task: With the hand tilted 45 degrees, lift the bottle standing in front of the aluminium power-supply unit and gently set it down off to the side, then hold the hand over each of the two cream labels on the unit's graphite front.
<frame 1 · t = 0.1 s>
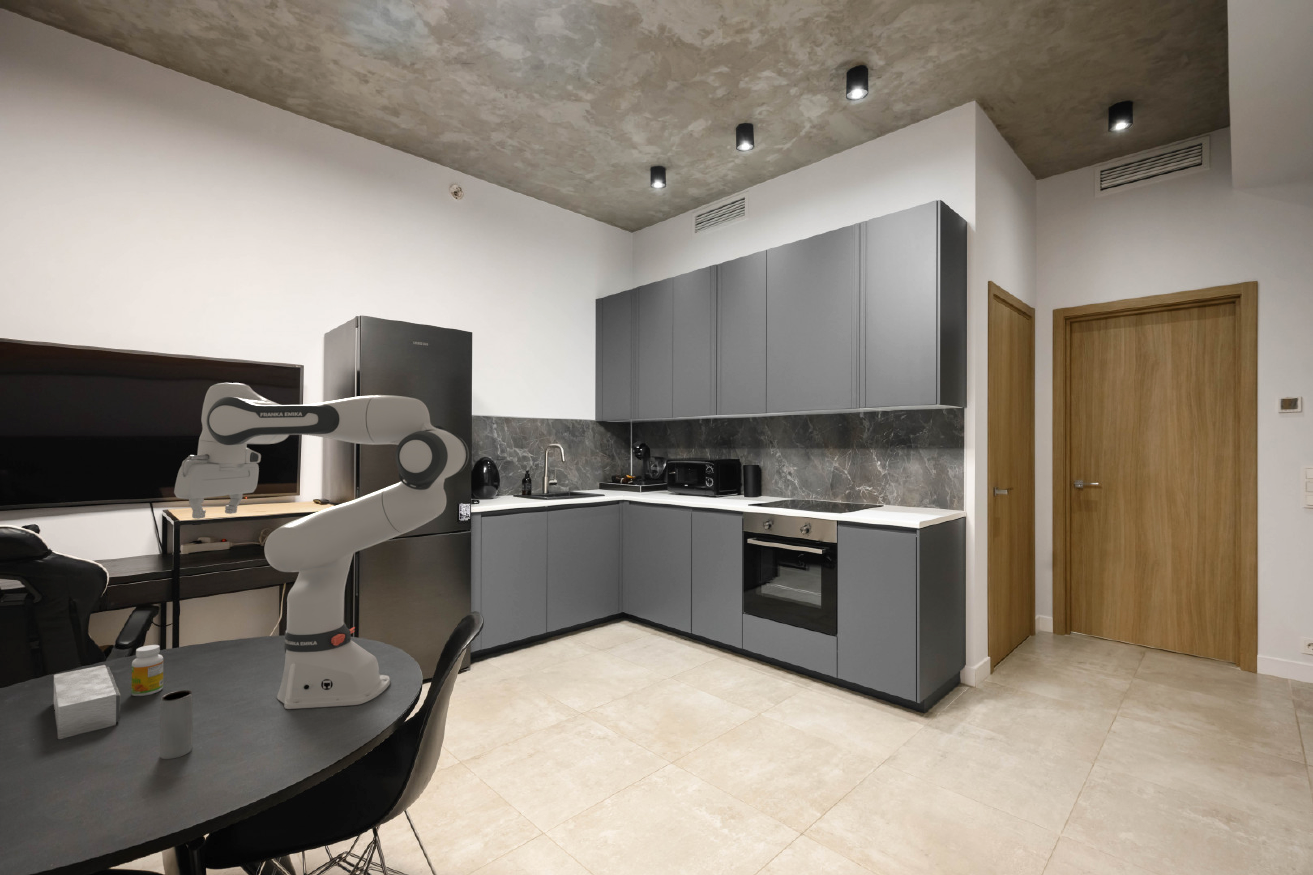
hand: (215, 515, 135), 39 cm above the table, tool pointing down, fingers open, 8 cm apart
coffee box: (323, 653, 159), on the table
planter: (176, 753, 108), on the table
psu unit: (83, 713, 123), on the table
supplement bottle: (147, 692, 134), on the table
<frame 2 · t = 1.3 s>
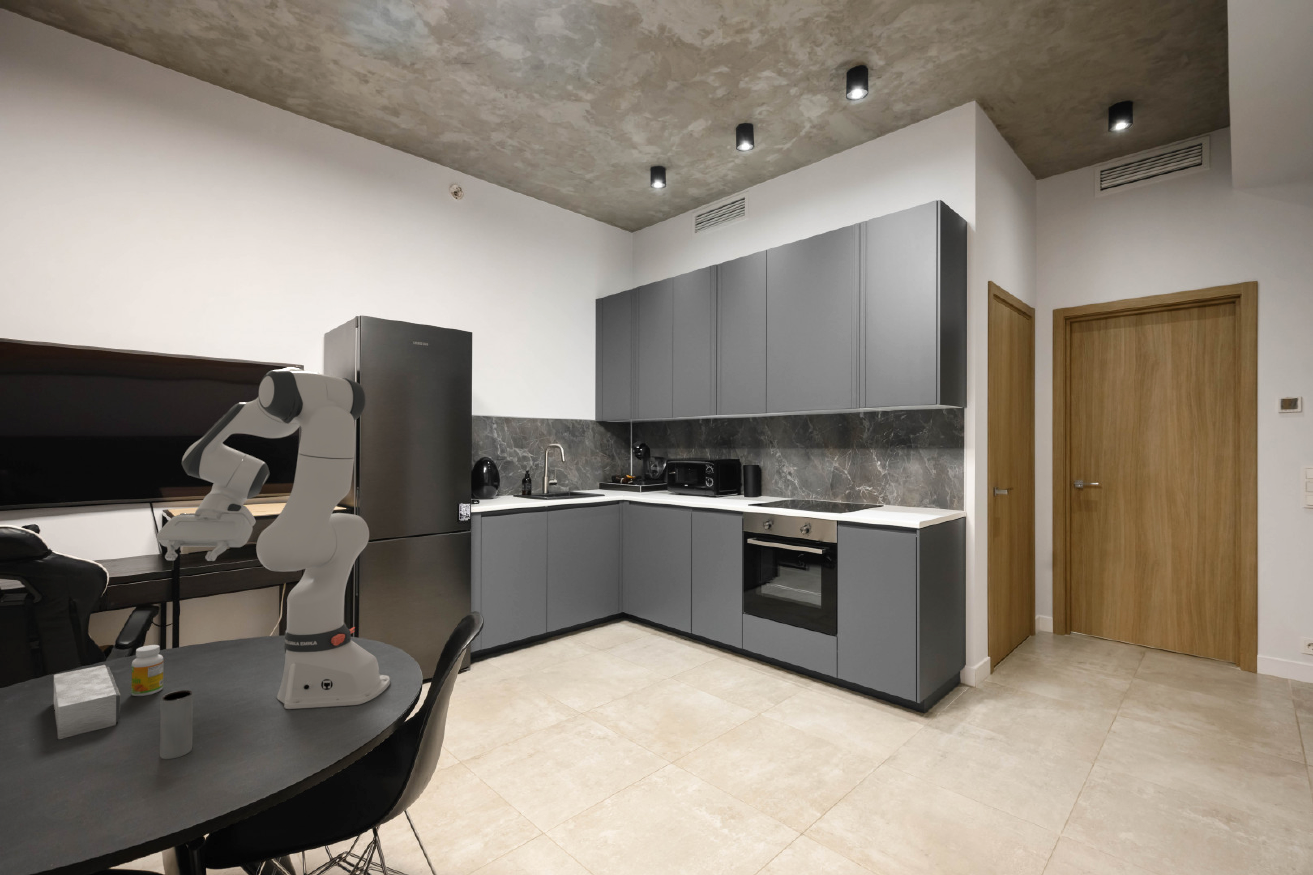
hand: (189, 559, 146), 27 cm above the table, tool tilted 45°, fingers open, 8 cm apart
nothing on the table moved.
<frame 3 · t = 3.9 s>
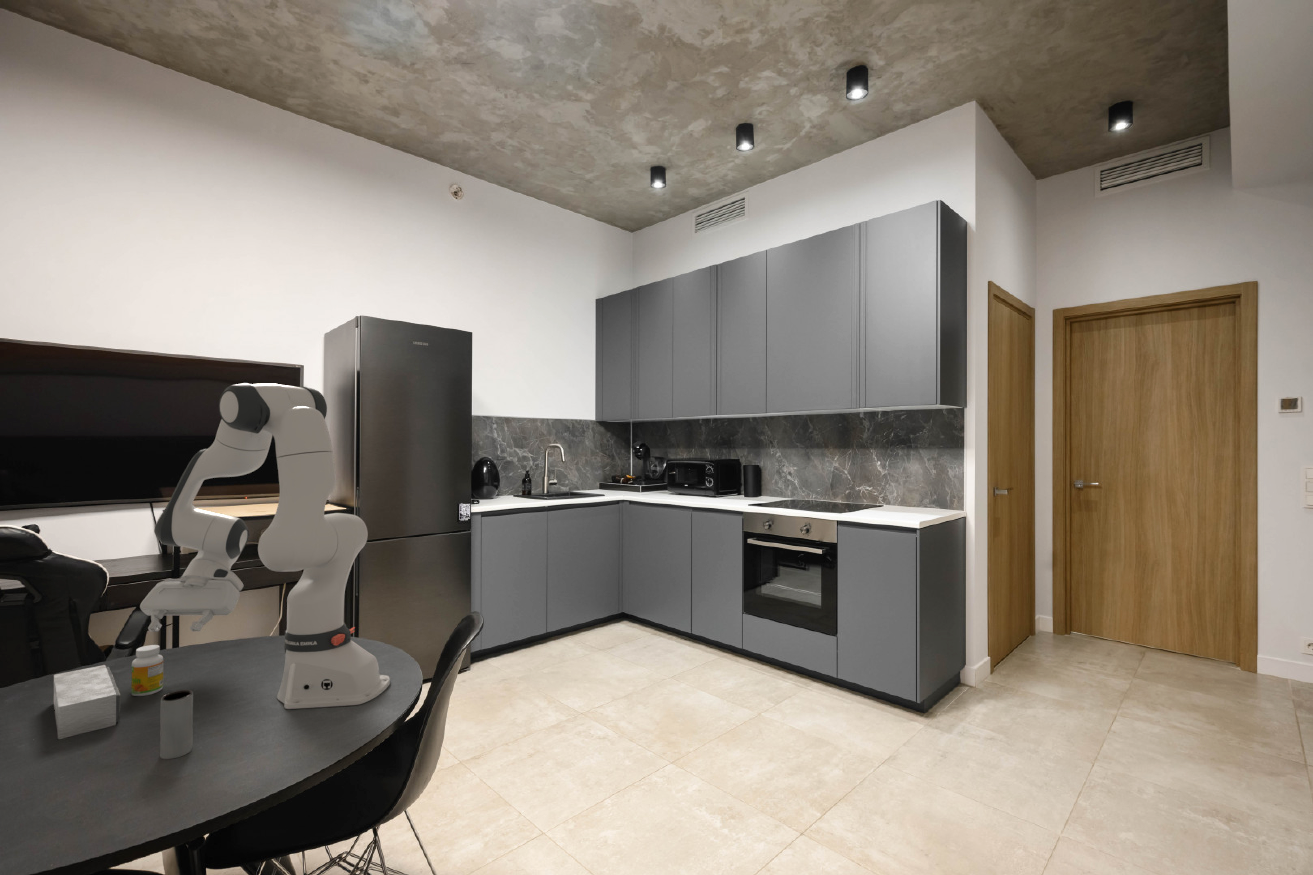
hand: (173, 630, 141), 11 cm above the table, tool tilted 45°, fingers open, 8 cm apart
nothing on the table moved.
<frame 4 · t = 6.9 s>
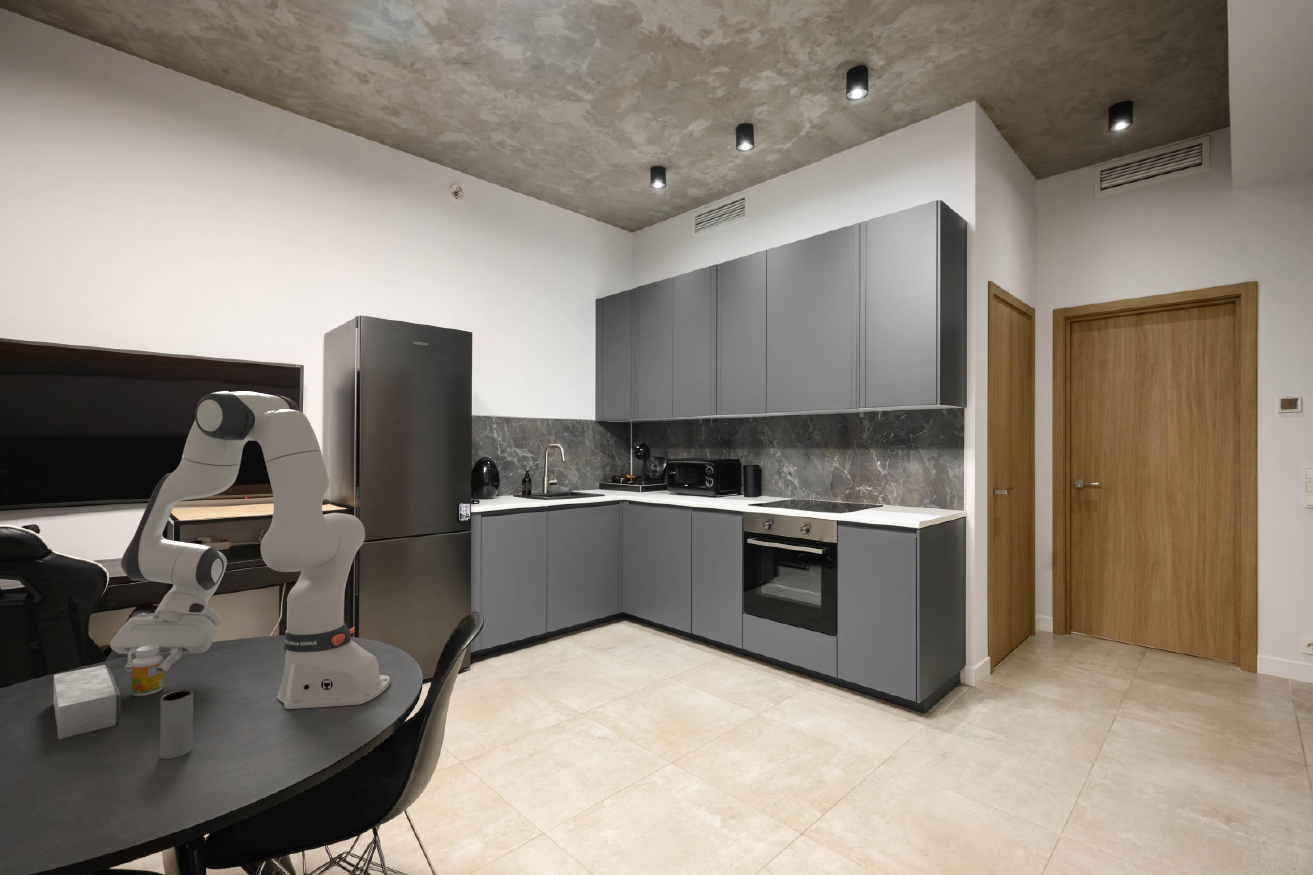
hand: (145, 670, 133), 5 cm above the table, tool tilted 45°, fingers closed on supplement bottle, 5 cm apart
supplement bottle: (147, 692, 134), on the table, touching gripper
everything else where it was.
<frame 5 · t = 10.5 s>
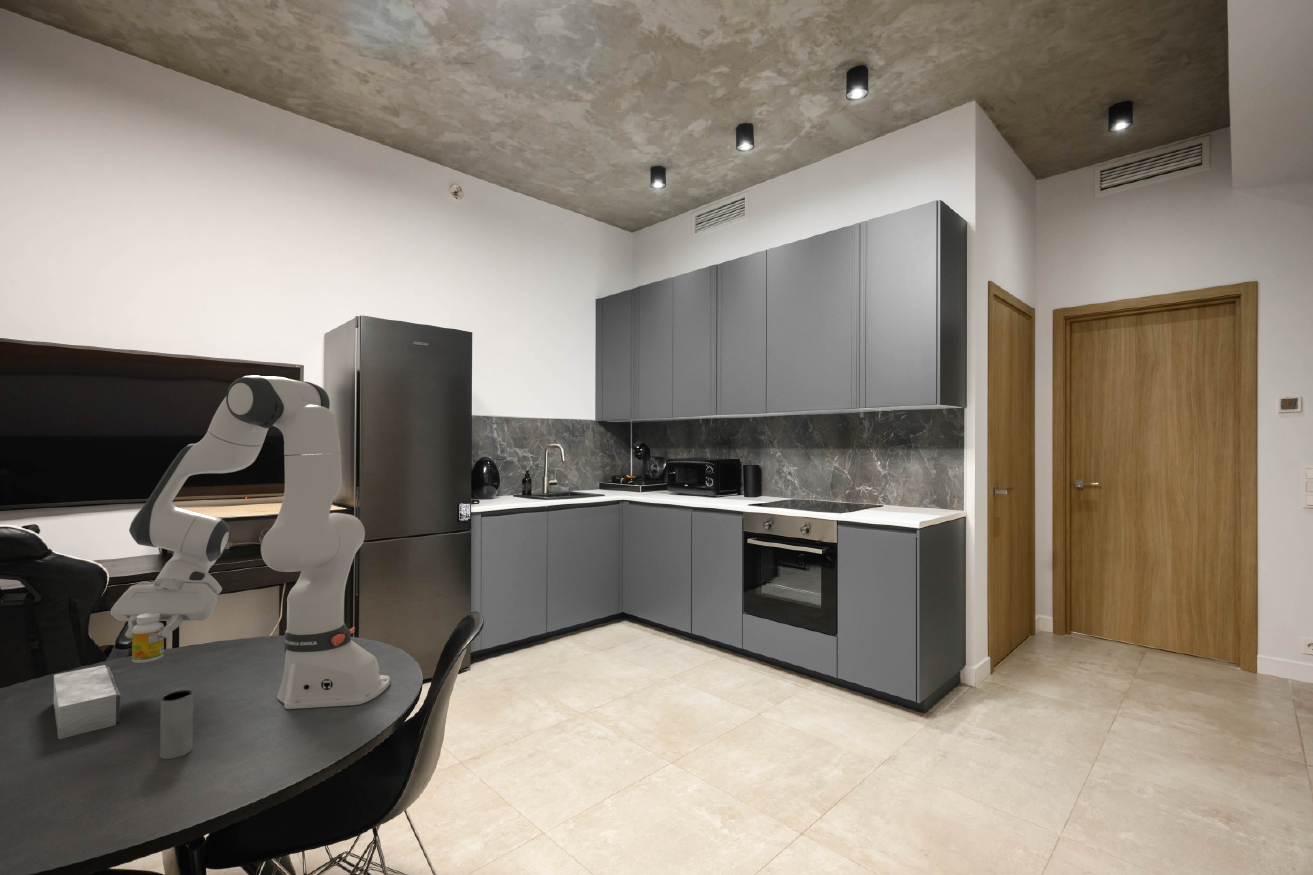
hand: (145, 636, 133), 12 cm above the table, tool tilted 45°, fingers closed on supplement bottle, 5 cm apart
supplement bottle: (147, 659, 134), point 7 cm above the table, touching gripper
everything else where it was.
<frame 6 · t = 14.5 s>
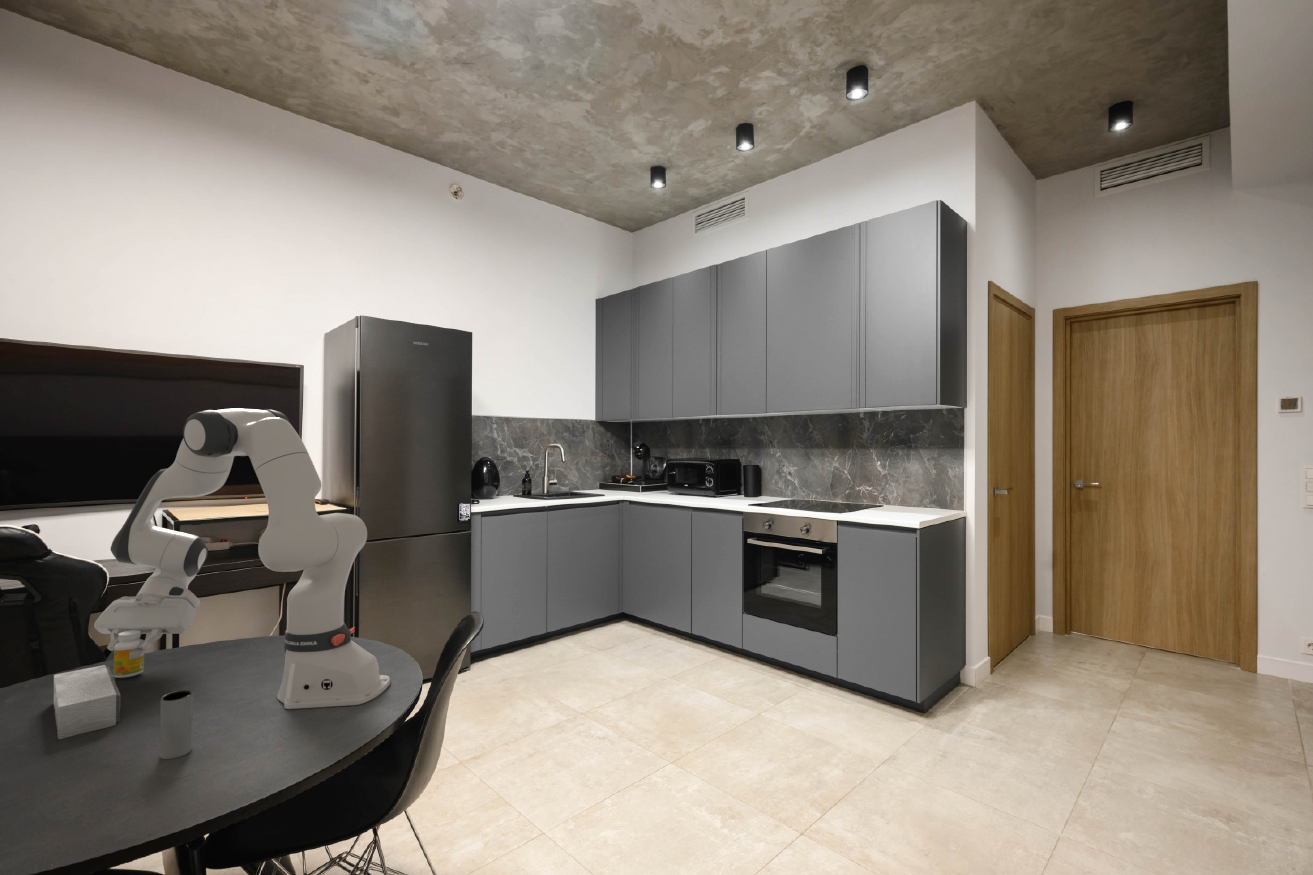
hand: (127, 649, 141), 7 cm above the table, tool tilted 45°, fingers closed on supplement bottle, 5 cm apart
supplement bottle: (128, 674, 142), on the table, touching gripper
everything else where it was.
when the fingers open (6 cm above the table, at t = 14.9 s): supplement bottle stays where it is, on the table.
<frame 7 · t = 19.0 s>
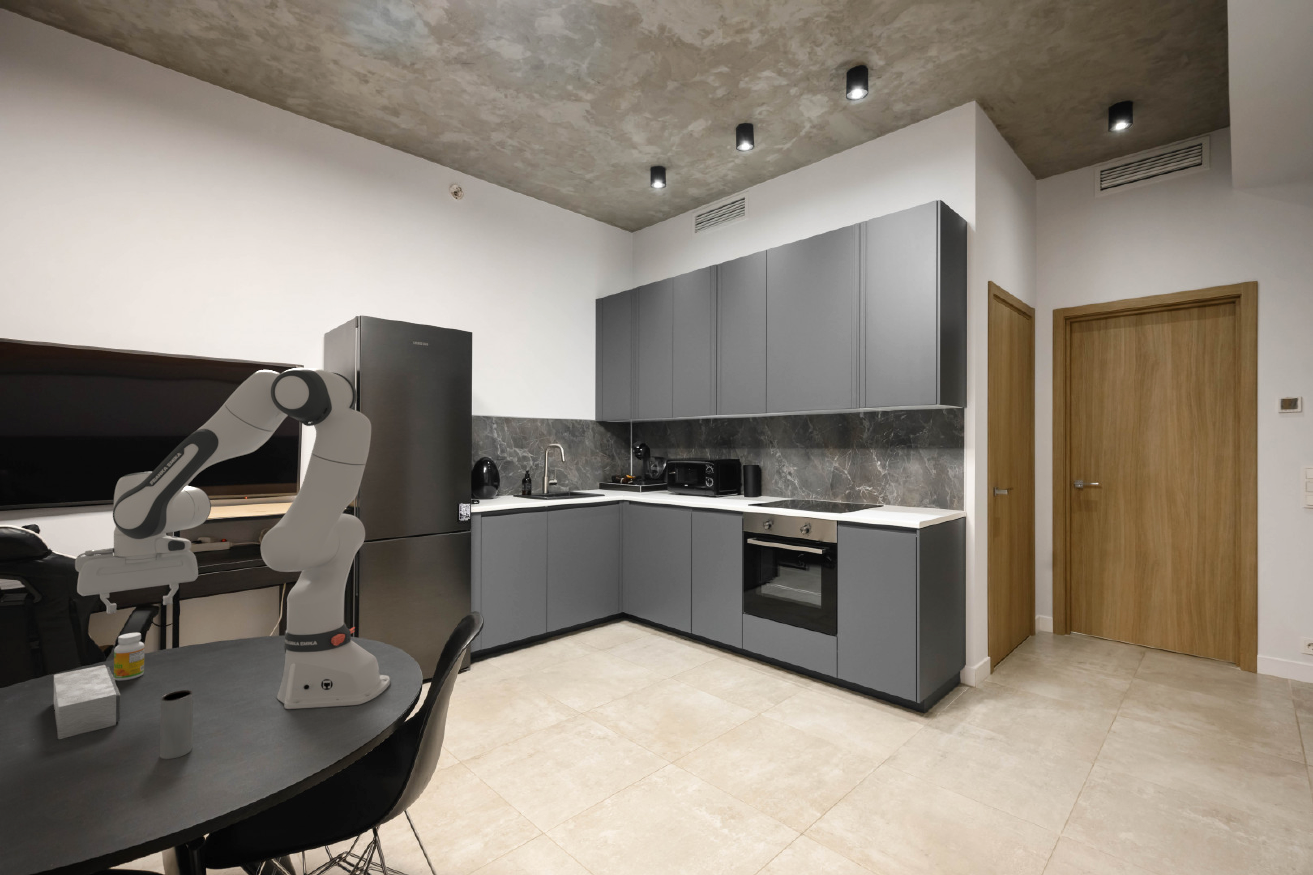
hand: (140, 608, 133), 19 cm above the table, tool pointing down, fingers open, 8 cm apart
supplement bottle: (128, 677, 142), on the table
everything else where it was.
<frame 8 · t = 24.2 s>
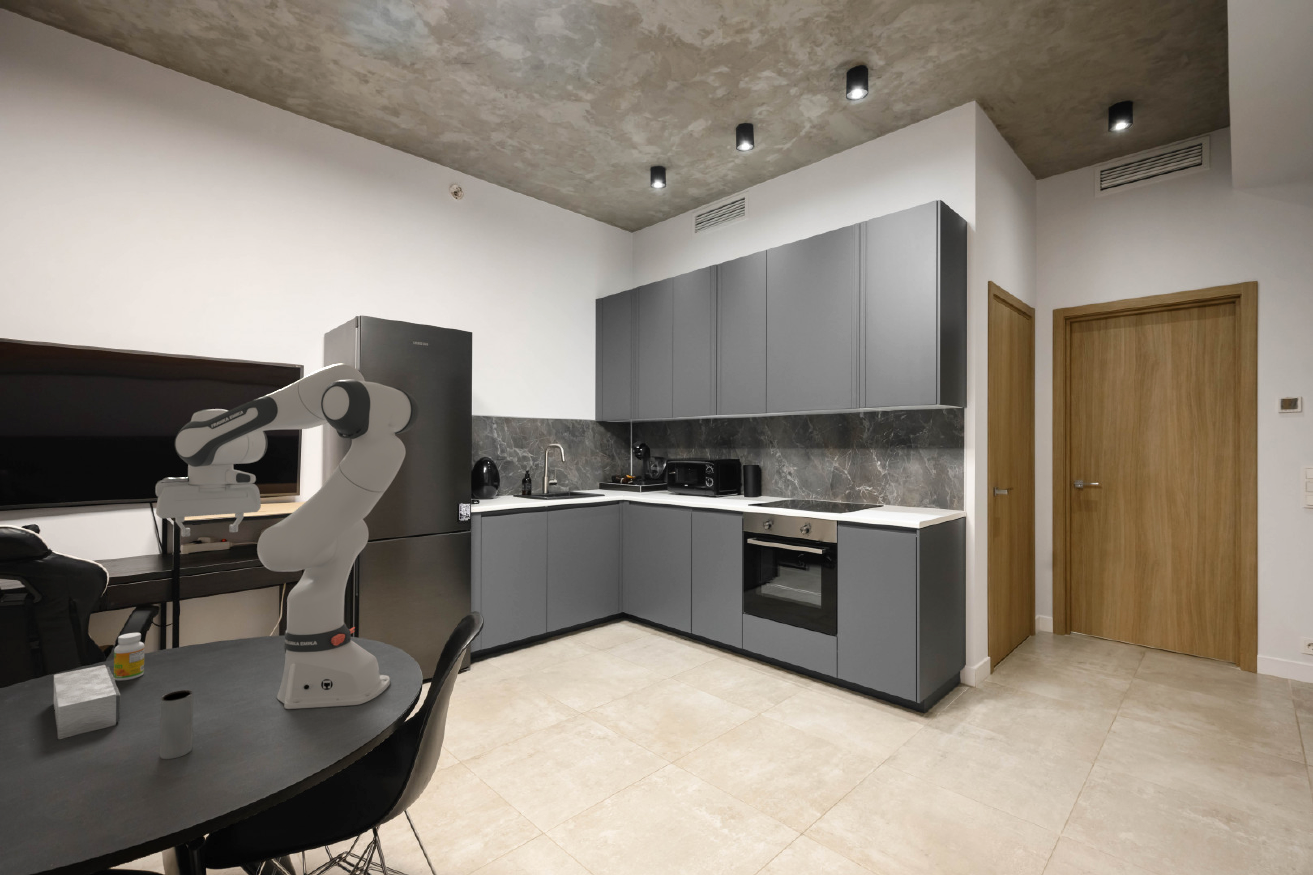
hand: (210, 533, 146), 33 cm above the table, tool pointing down, fingers open, 8 cm apart
nothing on the table moved.
at the end: supplement bottle inside the target area (0.0 cm from its centre), on the table; supplement bottle tilted 0°; the gripper is holding nothing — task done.
